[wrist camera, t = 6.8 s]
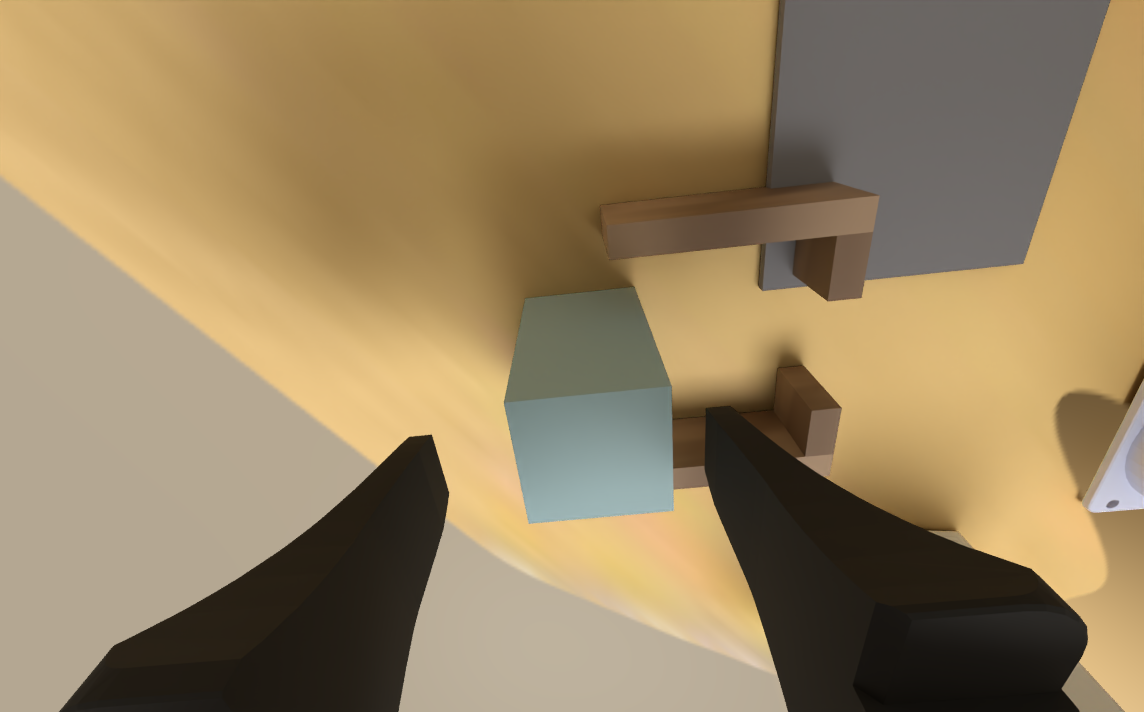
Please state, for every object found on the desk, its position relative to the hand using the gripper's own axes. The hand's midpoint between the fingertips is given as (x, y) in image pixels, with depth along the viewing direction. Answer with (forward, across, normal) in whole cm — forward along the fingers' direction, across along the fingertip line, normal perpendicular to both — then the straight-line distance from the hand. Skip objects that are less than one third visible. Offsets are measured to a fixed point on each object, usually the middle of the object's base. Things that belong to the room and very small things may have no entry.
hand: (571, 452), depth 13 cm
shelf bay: (+6, -5, 0) cm, 8 cm away
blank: (+7, -1, 0) cm, 7 cm away
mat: (+6, -12, -6) cm, 15 cm away
